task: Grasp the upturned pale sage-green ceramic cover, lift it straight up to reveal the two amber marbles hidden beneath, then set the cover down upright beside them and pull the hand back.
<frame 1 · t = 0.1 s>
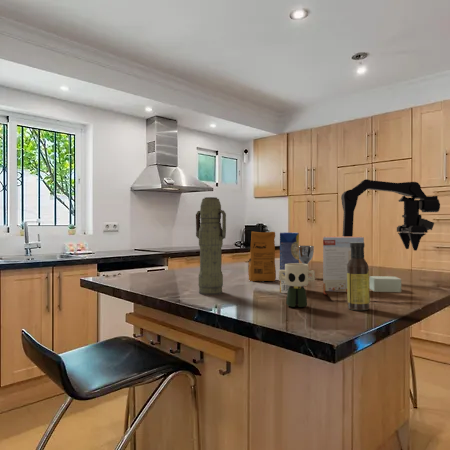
hand: (411, 249, 159), 15 cm above the countertop, fingers open, 9 cm apart
amber marble 2: (390, 290, 137), point 1 cm above the countertop
amber marble 1: (379, 290, 137), point 1 cm above the countertop
cracker box: (343, 294, 137), on the countertop
toy figurine: (296, 307, 116), on the countertop
coffee package: (261, 280, 171), on the countertop
thermos: (210, 293, 140), on the countertop
wine glass: (305, 278, 179), on the countertop
sauce bottle: (358, 309, 113), on the countertop
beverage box: (289, 291, 144), on the countertop
sage cover: (384, 294, 137), on the countertop
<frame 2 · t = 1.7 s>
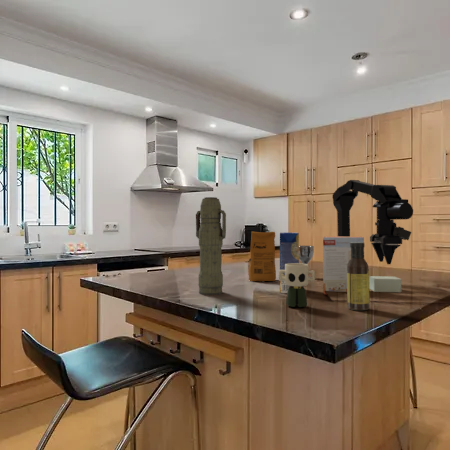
hand: (385, 262, 137), 11 cm above the countertop, fingers open, 9 cm apart
nothing on the countertop moved.
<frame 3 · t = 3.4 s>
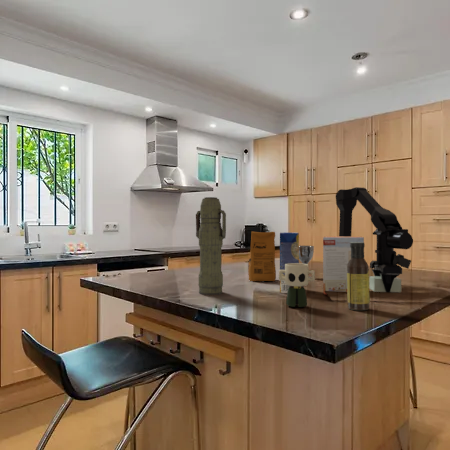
hand: (384, 290, 137), 1 cm above the countertop, fingers closed on sage cover, 7 cm apart
sage cover: (384, 294, 137), on the countertop, touching gripper
everything else where it was.
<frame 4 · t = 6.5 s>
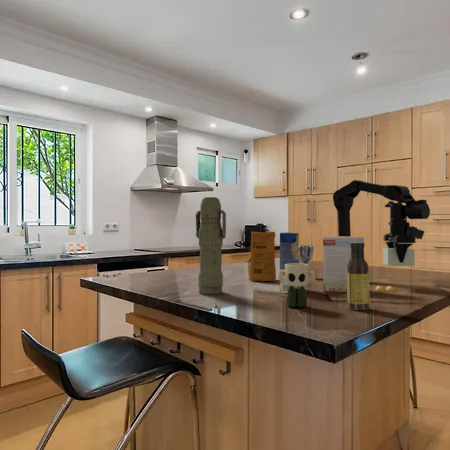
hand: (398, 261, 141), 11 cm above the countertop, fingers closed on sage cover, 7 cm apart
sage cover: (398, 264, 141), point 10 cm above the countertop, touching gripper
everything else where it was.
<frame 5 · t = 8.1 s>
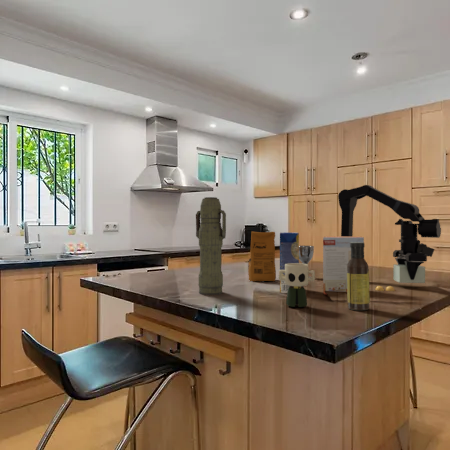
hand: (408, 278, 144), 5 cm above the countertop, fingers closed on sage cover, 7 cm apart
sage cover: (408, 281, 144), point 4 cm above the countertop, touching gripper
everything else where it was.
when the fingers open (2 cm above the countertop, at t = 9.5 s): sage cover drops 1 cm, on the countertop.
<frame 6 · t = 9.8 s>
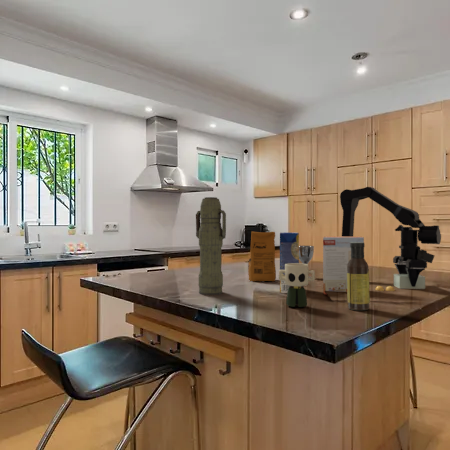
hand: (408, 284, 144), 2 cm above the countertop, fingers open, 9 cm apart
sage cover: (408, 291, 144), on the countertop
everything else where it was.
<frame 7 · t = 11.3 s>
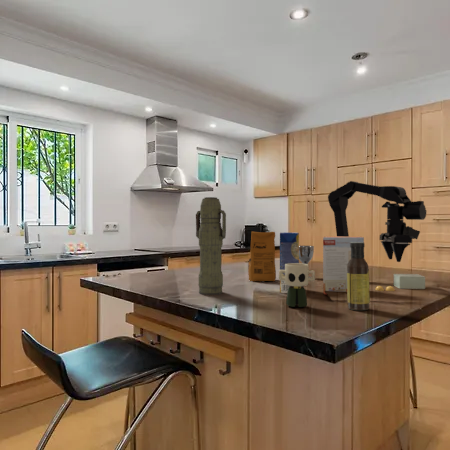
hand: (394, 260, 145), 11 cm above the countertop, fingers open, 9 cm apart
nothing on the countertop moved.
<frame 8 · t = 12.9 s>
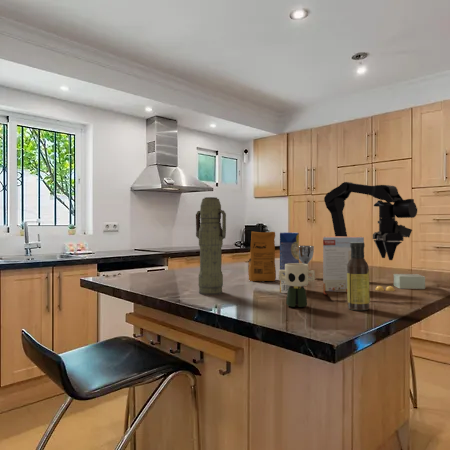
hand: (387, 259, 145), 12 cm above the countertop, fingers open, 9 cm apart
nothing on the countertop moved.
at the end: sage cover inside the target area (0.0 cm from its centre), on the countertop; sage cover tilted 0°; the gripper is holding nothing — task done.
